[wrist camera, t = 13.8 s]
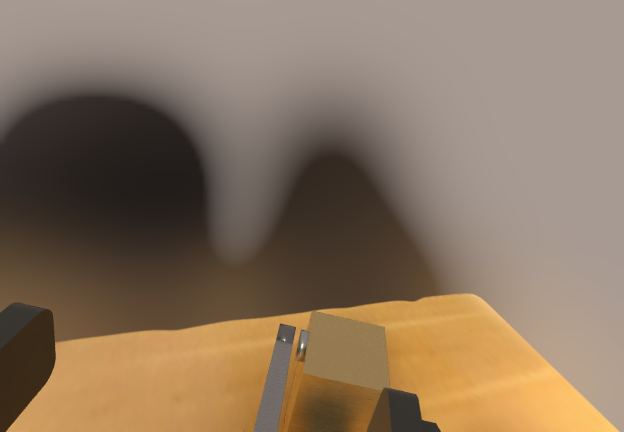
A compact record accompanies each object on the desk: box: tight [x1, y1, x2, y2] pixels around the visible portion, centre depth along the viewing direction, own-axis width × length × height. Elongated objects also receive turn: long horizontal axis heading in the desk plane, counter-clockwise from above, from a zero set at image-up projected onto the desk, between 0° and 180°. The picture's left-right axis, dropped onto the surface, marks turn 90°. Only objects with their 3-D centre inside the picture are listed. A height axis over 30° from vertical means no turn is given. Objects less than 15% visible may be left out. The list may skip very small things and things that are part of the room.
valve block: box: [283, 311, 390, 432], centre depth 46 cm, size 9×21×16 cm, turn 174°
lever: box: [243, 324, 296, 432], centre depth 35 cm, size 3×3×22 cm
